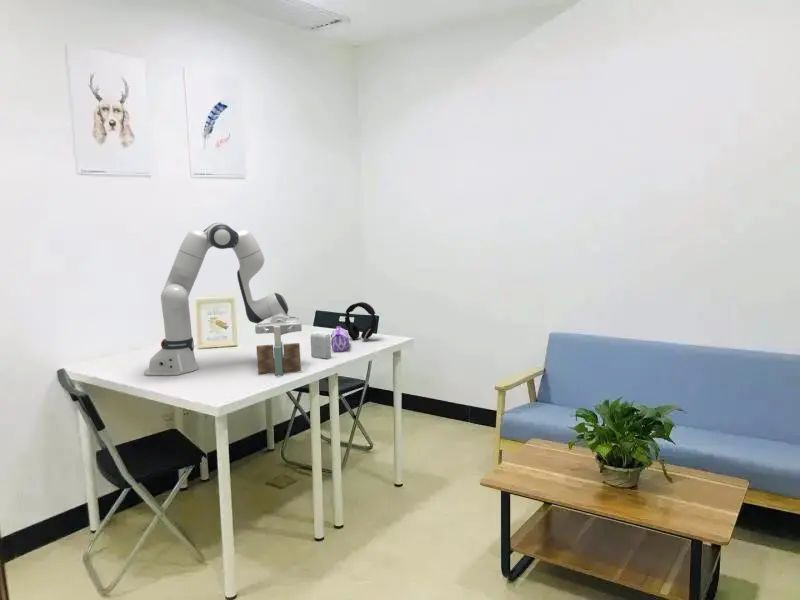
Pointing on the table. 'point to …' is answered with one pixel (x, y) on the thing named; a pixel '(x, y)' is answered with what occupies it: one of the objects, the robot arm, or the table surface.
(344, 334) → the pencil case
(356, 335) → the headphones
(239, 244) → the robot arm
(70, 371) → the table surface
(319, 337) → the photo printer
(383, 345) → the table surface
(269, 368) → the walnut slotted board
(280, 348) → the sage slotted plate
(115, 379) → the table surface
